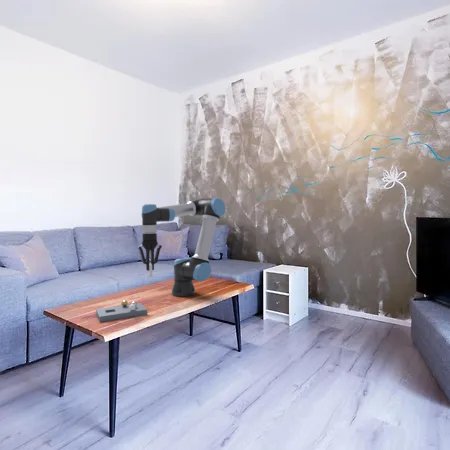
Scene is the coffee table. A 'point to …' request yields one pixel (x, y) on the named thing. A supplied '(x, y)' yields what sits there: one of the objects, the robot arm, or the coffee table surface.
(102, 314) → the board
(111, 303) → the coffee table surface
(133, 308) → the white ball
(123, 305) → the brass ball
